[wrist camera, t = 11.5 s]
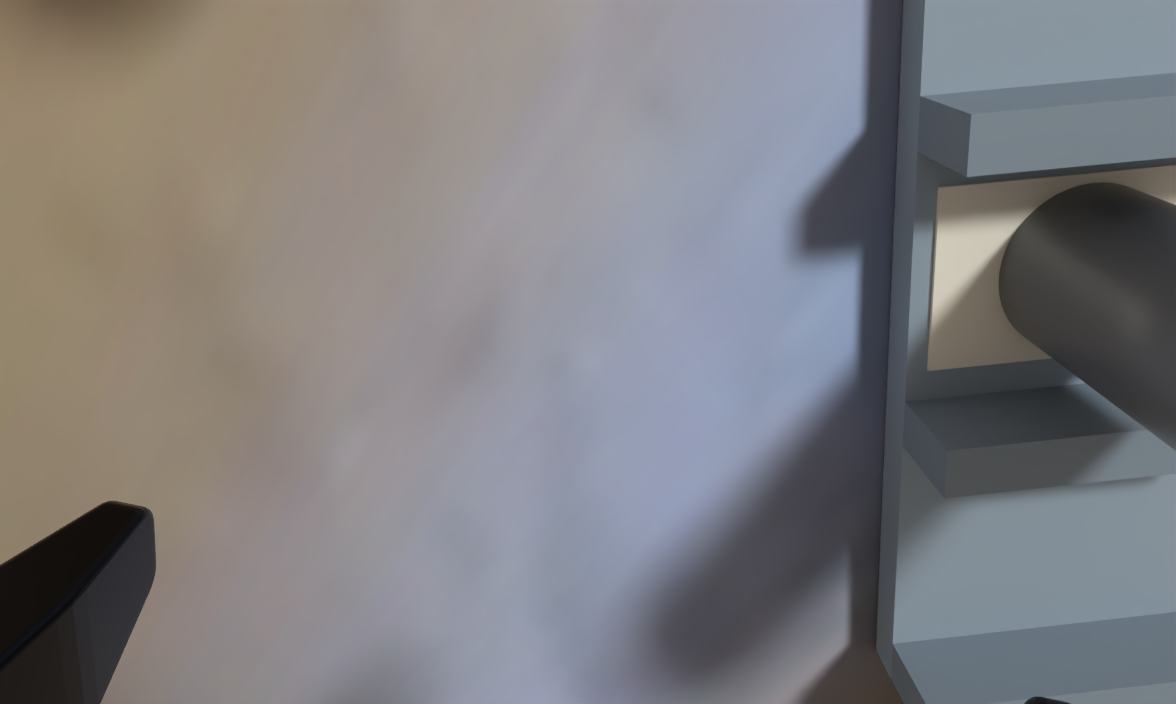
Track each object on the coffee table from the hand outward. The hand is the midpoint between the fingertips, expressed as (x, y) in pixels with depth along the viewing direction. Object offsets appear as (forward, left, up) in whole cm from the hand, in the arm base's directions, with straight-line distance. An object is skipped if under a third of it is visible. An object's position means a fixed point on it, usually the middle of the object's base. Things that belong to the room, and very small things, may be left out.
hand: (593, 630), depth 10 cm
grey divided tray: (+12, -1, -14) cm, 19 cm away
